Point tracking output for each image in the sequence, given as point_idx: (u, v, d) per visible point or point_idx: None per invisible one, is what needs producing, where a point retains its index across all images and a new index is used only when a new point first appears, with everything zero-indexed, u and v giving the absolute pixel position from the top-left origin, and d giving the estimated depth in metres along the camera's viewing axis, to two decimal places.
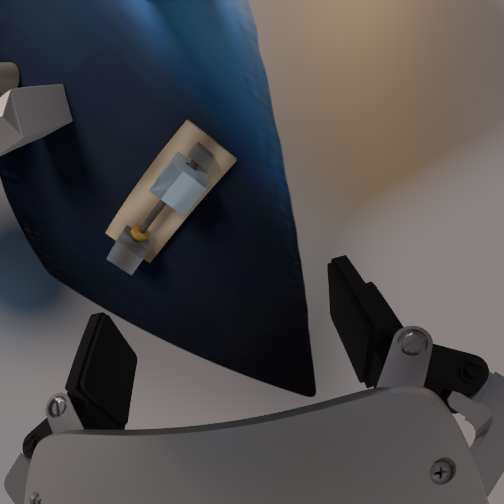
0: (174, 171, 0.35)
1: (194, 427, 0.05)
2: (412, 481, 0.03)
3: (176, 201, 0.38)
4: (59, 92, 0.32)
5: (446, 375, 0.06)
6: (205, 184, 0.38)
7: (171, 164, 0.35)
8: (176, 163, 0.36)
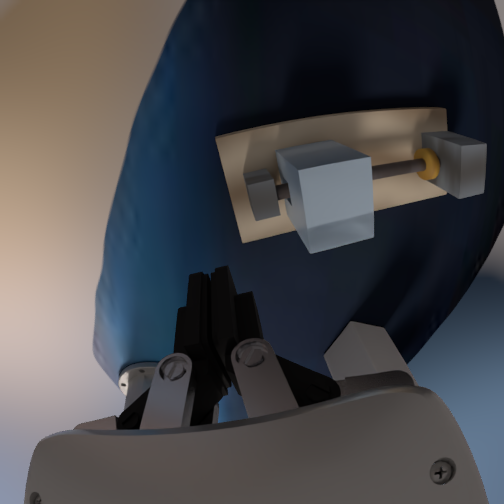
0: (318, 236, 0.19)
1: (194, 427, 0.05)
2: (412, 481, 0.03)
3: (358, 189, 0.18)
4: (333, 358, 0.37)
5: None
6: (292, 169, 0.18)
7: (313, 250, 0.20)
8: (305, 238, 0.20)
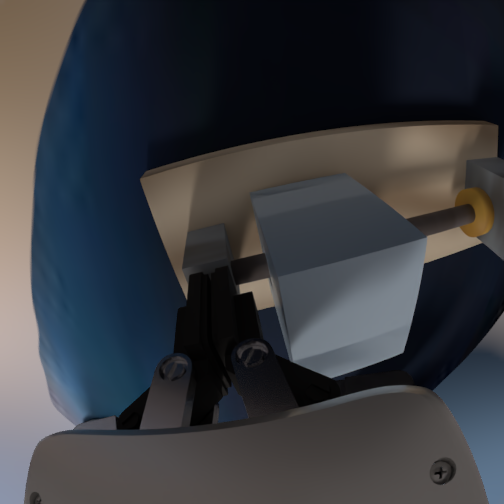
0: (313, 367, 0.11)
1: (194, 427, 0.05)
2: (412, 481, 0.03)
3: (394, 296, 0.09)
4: None
5: None
6: (270, 258, 0.09)
7: None
8: (290, 360, 0.12)
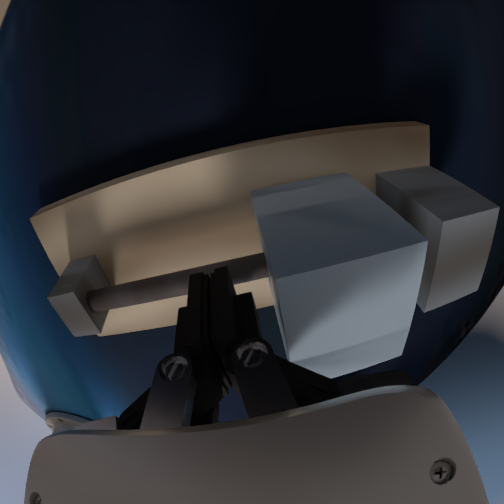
0: (310, 368, 0.10)
1: (194, 427, 0.05)
2: (412, 481, 0.03)
3: (393, 299, 0.09)
4: None
5: None
6: (268, 259, 0.09)
7: None
8: (288, 360, 0.12)
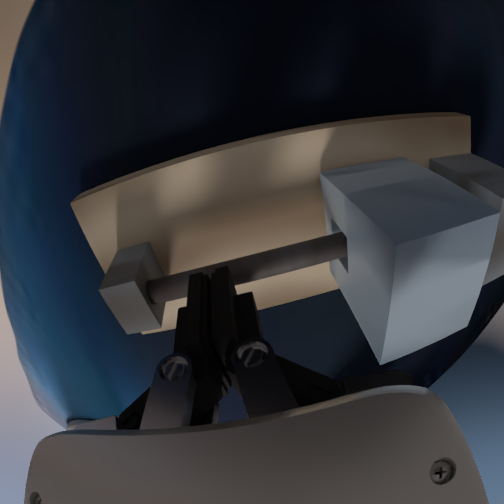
0: (399, 342, 0.10)
1: (194, 427, 0.05)
2: (412, 481, 0.03)
3: (472, 267, 0.08)
4: None
5: None
6: (373, 230, 0.09)
7: (385, 360, 0.10)
8: (372, 338, 0.11)
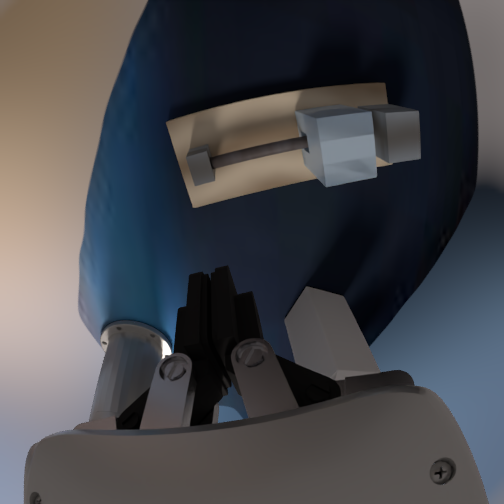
0: (332, 172, 0.23)
1: (194, 427, 0.05)
2: (412, 481, 0.03)
3: (363, 136, 0.22)
4: (291, 321, 0.42)
5: None
6: (311, 120, 0.22)
7: (328, 183, 0.24)
8: (321, 176, 0.24)
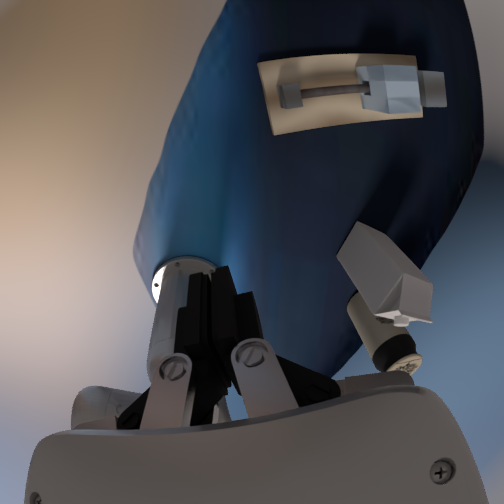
0: (393, 103, 0.27)
1: (194, 427, 0.05)
2: (412, 481, 0.03)
3: (411, 82, 0.26)
4: (344, 254, 0.45)
5: None
6: (376, 67, 0.26)
7: (390, 111, 0.28)
8: (384, 107, 0.28)
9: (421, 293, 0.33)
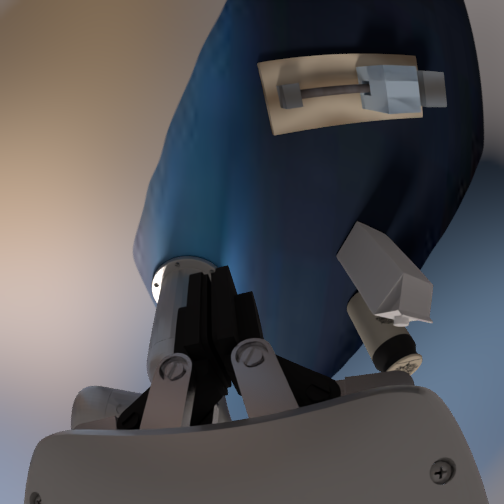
0: (393, 103, 0.27)
1: (194, 427, 0.05)
2: (412, 481, 0.03)
3: (411, 82, 0.26)
4: (344, 254, 0.45)
5: None
6: (376, 67, 0.26)
7: (390, 111, 0.28)
8: (384, 107, 0.28)
9: (421, 293, 0.33)
